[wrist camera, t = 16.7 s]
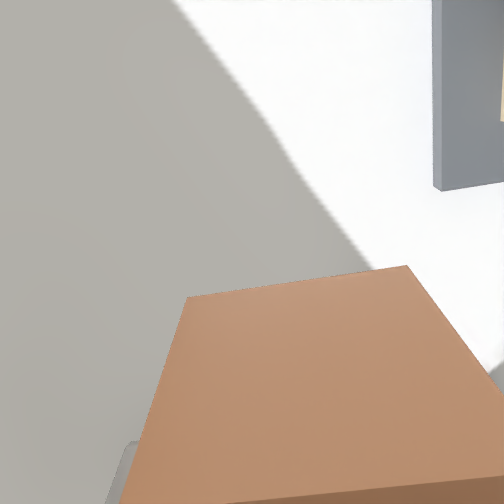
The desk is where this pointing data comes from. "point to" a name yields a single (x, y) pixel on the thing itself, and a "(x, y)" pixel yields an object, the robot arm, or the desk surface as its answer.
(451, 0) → the plate
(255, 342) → the terracotta brick
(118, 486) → the robot arm
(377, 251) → the desk surface
